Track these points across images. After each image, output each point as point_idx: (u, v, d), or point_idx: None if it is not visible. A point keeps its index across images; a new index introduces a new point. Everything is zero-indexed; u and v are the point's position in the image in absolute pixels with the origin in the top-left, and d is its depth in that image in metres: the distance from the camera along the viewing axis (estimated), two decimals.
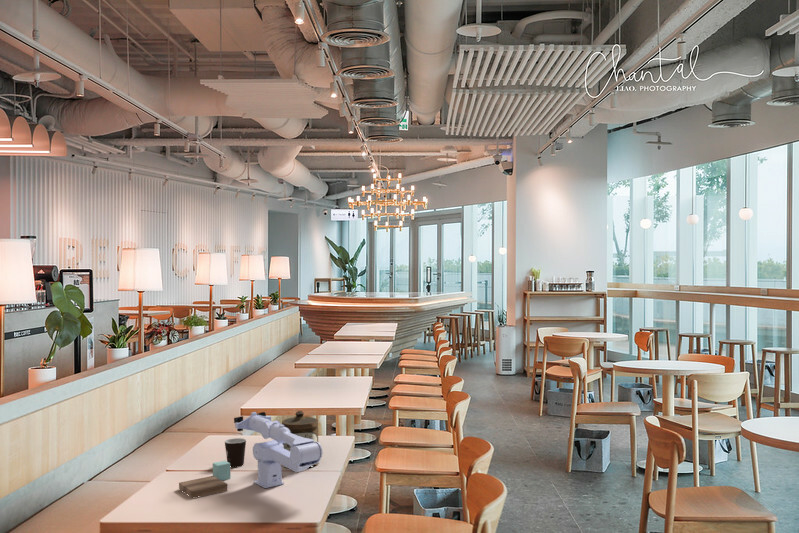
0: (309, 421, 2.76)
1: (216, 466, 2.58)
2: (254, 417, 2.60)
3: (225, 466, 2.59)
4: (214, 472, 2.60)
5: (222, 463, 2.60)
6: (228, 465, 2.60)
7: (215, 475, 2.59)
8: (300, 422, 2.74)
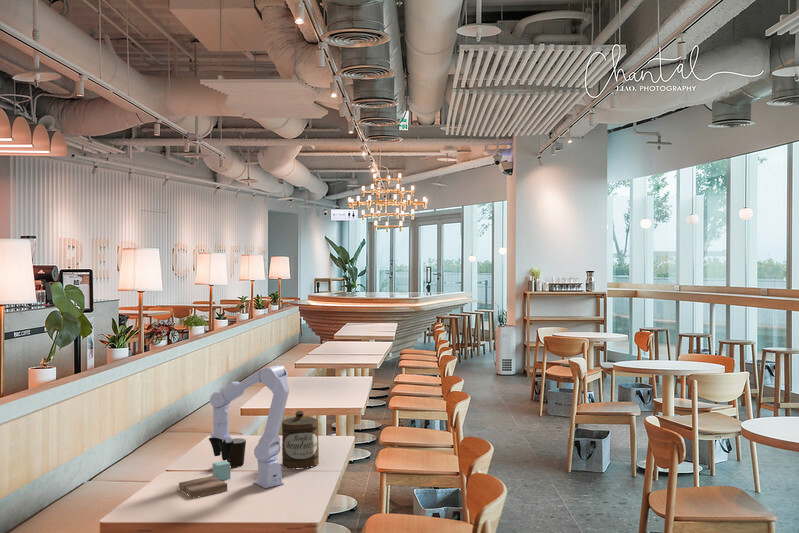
0: (309, 421, 2.76)
1: (216, 466, 2.58)
2: (215, 429, 2.58)
3: (225, 466, 2.59)
4: (214, 472, 2.60)
5: (222, 463, 2.60)
6: (228, 465, 2.60)
7: (215, 475, 2.59)
8: (300, 422, 2.74)
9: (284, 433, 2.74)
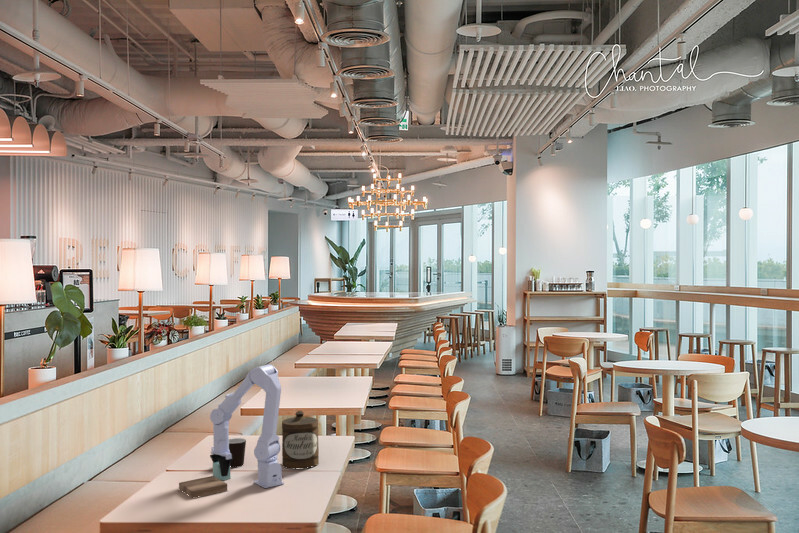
0: (309, 421, 2.76)
1: (216, 466, 2.58)
2: (215, 446, 2.58)
3: None
4: (214, 472, 2.60)
5: None
6: None
7: (215, 474, 2.59)
8: (300, 422, 2.74)
9: (284, 433, 2.74)
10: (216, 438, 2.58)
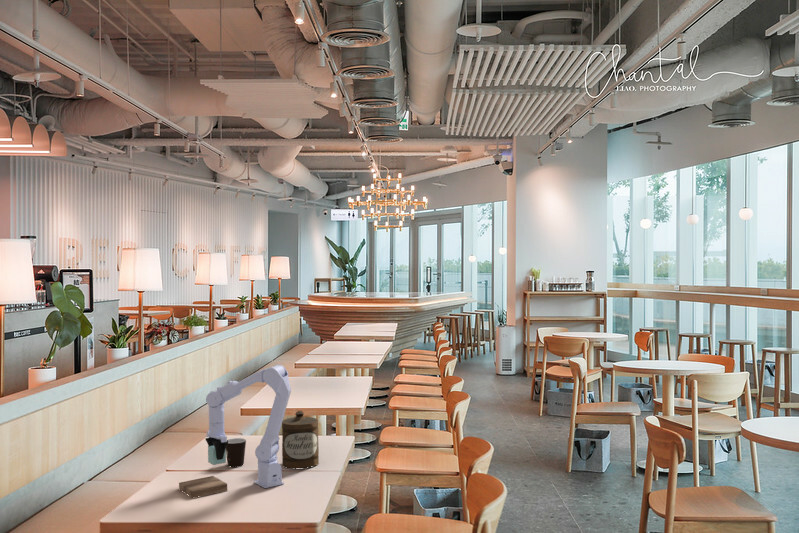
0: (309, 421, 2.76)
1: (211, 449, 2.55)
2: (211, 429, 2.55)
3: None
4: (209, 455, 2.57)
5: None
6: None
7: (210, 458, 2.56)
8: (300, 422, 2.74)
9: (284, 433, 2.74)
10: (212, 421, 2.55)
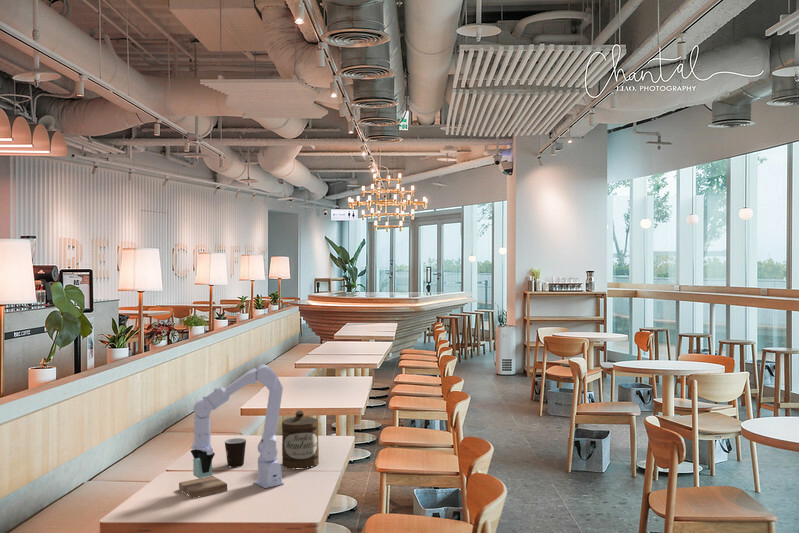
0: (309, 421, 2.76)
1: (197, 462, 2.44)
2: (196, 441, 2.45)
3: None
4: (195, 468, 2.46)
5: None
6: None
7: (195, 471, 2.45)
8: (300, 422, 2.74)
9: (284, 433, 2.74)
10: (202, 432, 2.44)
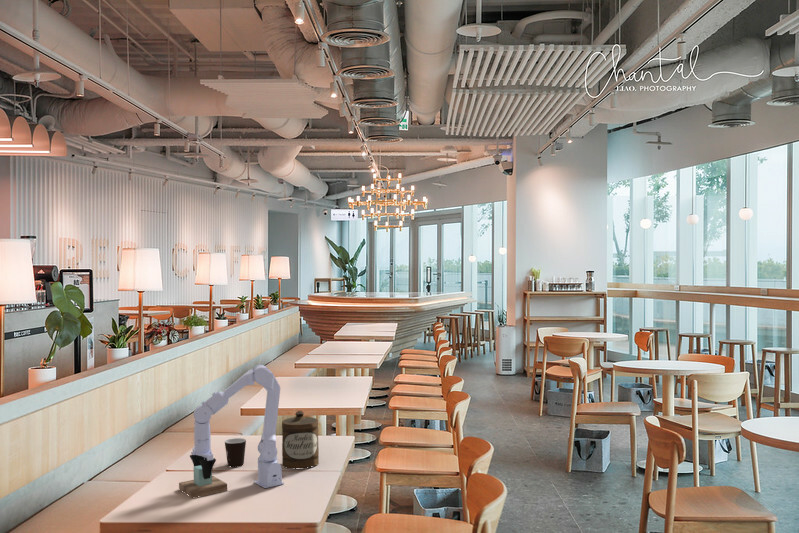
0: (309, 421, 2.76)
1: (197, 470, 2.44)
2: (196, 446, 2.45)
3: None
4: (195, 476, 2.46)
5: None
6: None
7: (196, 479, 2.45)
8: (300, 422, 2.74)
9: (284, 433, 2.74)
10: (202, 438, 2.44)
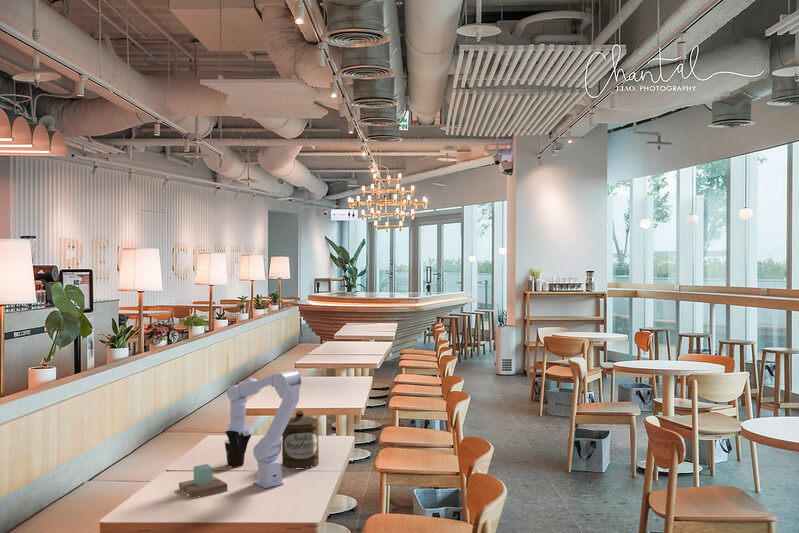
0: (309, 421, 2.76)
1: (197, 470, 2.44)
2: (232, 423, 2.59)
3: (206, 470, 2.45)
4: (195, 476, 2.46)
5: (203, 467, 2.46)
6: (210, 469, 2.46)
7: (196, 479, 2.45)
8: (300, 422, 2.74)
9: (284, 433, 2.74)
10: (232, 414, 2.59)
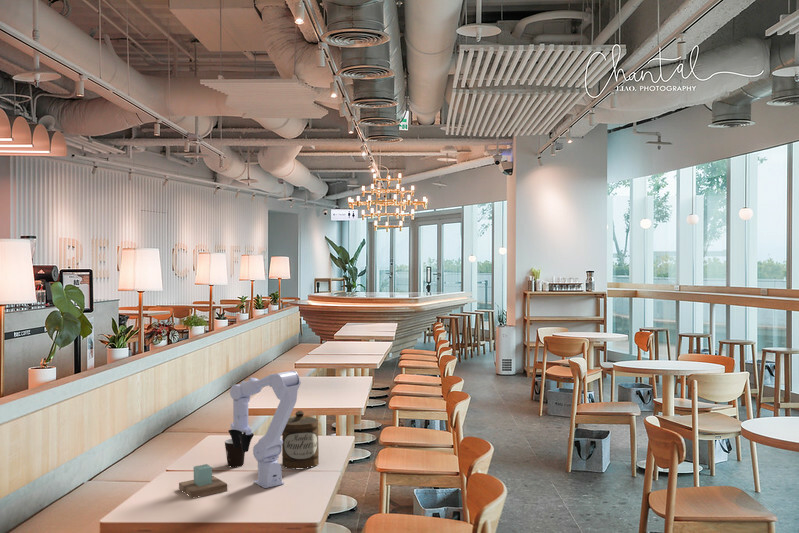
0: (309, 421, 2.76)
1: (197, 470, 2.44)
2: (235, 422, 2.61)
3: (206, 470, 2.45)
4: (195, 476, 2.46)
5: (203, 467, 2.46)
6: (210, 469, 2.46)
7: (196, 479, 2.45)
8: (300, 422, 2.74)
9: (284, 433, 2.74)
10: (234, 413, 2.61)
